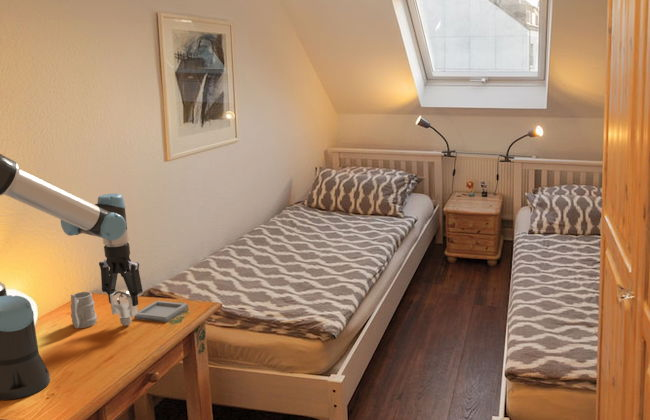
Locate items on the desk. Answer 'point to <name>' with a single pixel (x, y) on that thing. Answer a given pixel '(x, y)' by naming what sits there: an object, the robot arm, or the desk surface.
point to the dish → (161, 311)
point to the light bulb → (122, 306)
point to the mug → (83, 310)
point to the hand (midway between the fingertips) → (125, 314)
